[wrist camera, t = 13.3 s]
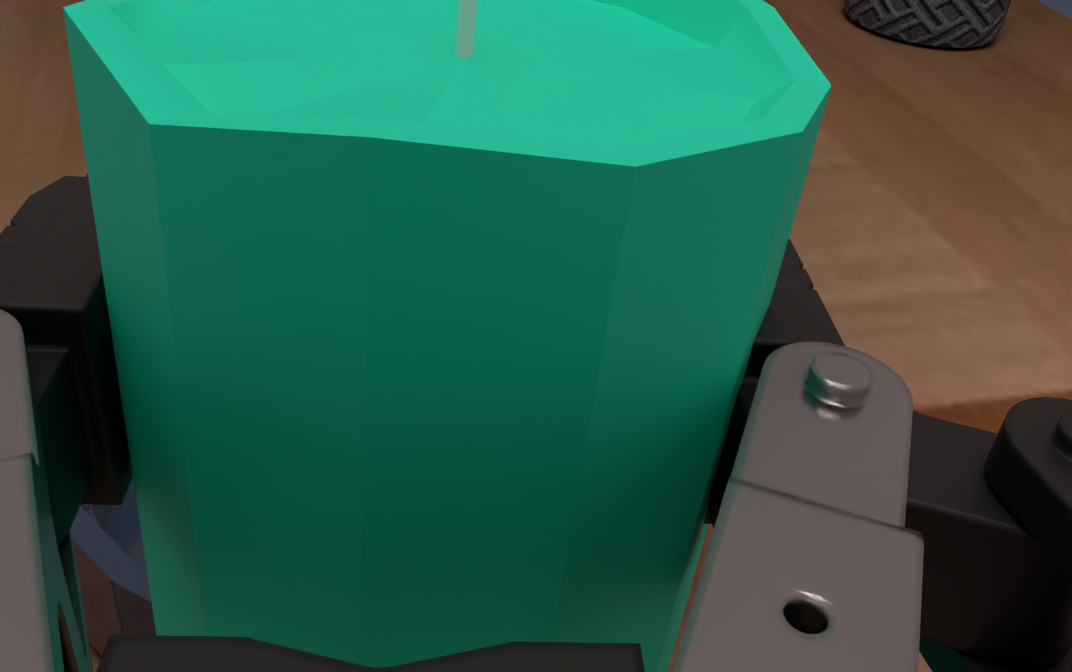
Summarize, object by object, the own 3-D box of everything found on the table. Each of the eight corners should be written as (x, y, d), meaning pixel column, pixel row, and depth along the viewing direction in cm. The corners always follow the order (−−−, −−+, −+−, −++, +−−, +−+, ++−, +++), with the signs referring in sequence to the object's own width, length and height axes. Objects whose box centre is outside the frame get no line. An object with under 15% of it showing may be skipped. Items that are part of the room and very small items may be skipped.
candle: (406, 541, 17) (447, -264, 11) (708, 749, 15) (1014, -158, 8) (87, 783, 13) (-163, -285, 7) (428, 1136, 11) (582, -80, 4)
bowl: (-88, 680, 26) (-146, 545, 23) (241, 292, 42) (231, 183, 39) (656, 868, 24) (694, 745, 21) (709, 384, 40) (735, 275, 37)
